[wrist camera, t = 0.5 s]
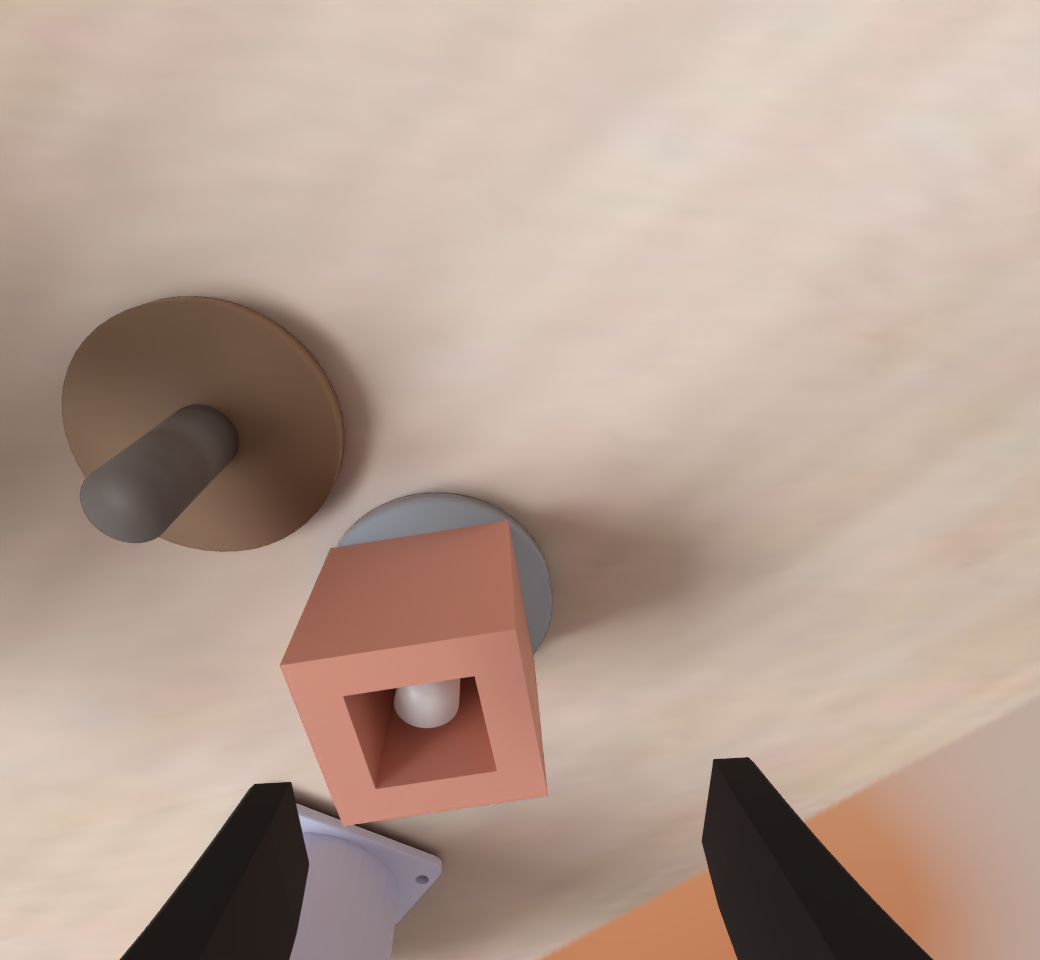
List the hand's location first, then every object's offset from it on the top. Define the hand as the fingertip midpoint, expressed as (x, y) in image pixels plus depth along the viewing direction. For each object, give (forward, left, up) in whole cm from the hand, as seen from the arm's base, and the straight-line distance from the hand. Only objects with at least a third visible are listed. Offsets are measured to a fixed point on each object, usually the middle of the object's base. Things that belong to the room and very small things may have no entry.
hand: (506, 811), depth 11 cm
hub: (-1, +9, -9) cm, 13 cm away
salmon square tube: (-3, +1, -9) cm, 9 cm away
